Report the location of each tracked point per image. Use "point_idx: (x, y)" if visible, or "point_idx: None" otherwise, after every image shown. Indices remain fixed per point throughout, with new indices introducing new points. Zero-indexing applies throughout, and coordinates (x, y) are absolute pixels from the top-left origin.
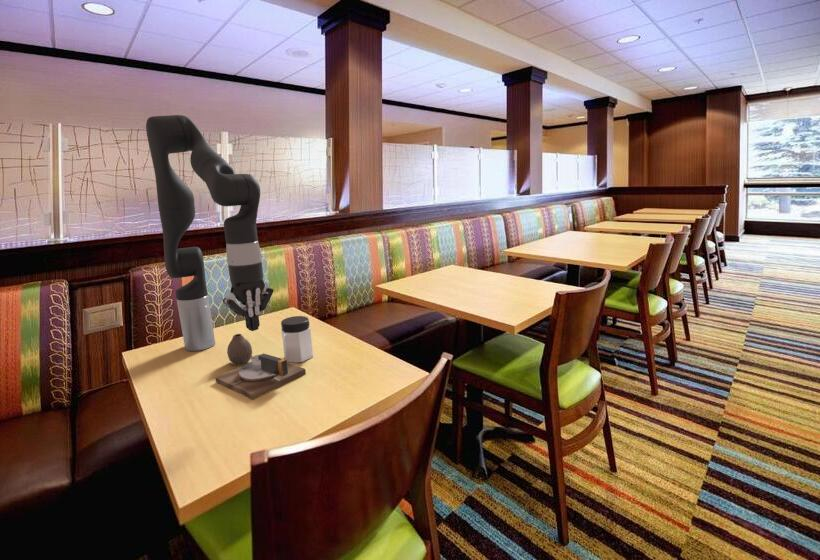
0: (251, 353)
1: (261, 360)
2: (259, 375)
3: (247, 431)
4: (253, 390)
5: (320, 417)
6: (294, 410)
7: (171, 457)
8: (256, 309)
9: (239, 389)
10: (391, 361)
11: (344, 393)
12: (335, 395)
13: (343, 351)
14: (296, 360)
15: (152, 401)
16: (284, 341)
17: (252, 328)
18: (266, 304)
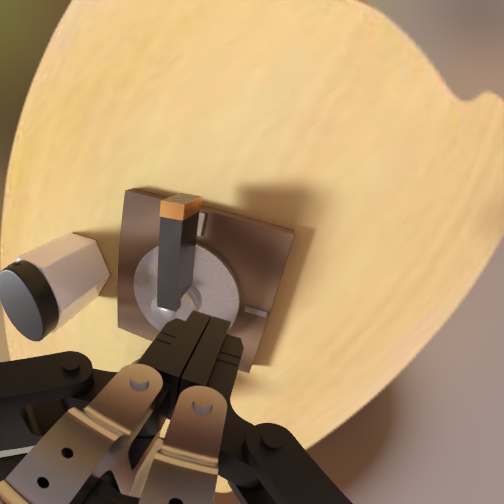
0: (137, 361)
1: (181, 293)
2: (220, 268)
3: (412, 146)
4: (274, 245)
5: (304, 21)
6: (302, 89)
7: (493, 237)
8: (129, 404)
9: (277, 287)
10: (47, 59)
11: (187, 33)
12: (202, 44)
13: (34, 183)
14: (98, 254)
15: (347, 408)
16: (77, 301)
17: (227, 333)
18: (29, 364)
